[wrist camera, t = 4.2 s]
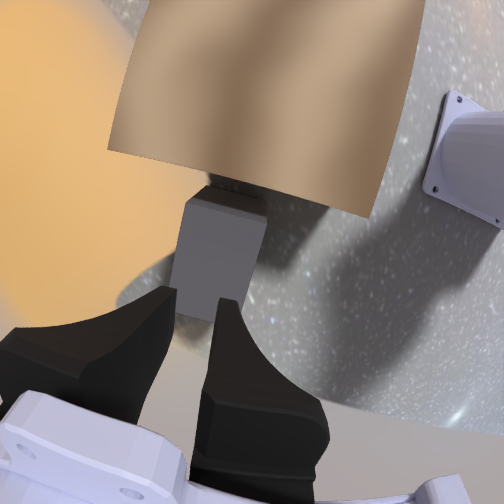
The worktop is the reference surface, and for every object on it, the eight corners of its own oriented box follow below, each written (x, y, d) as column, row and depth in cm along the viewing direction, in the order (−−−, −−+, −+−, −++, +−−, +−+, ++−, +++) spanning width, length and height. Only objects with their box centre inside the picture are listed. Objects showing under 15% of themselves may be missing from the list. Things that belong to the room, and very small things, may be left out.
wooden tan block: (419, -8, 11) (427, -14, 11) (362, 214, 16) (368, 219, 15) (190, -68, 11) (186, -77, 10) (115, 148, 15) (107, 149, 14)
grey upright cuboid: (265, 201, 21) (267, 224, 15) (242, 282, 23) (236, 328, 17) (206, 185, 21) (185, 202, 15) (187, 267, 23) (164, 309, 17)
